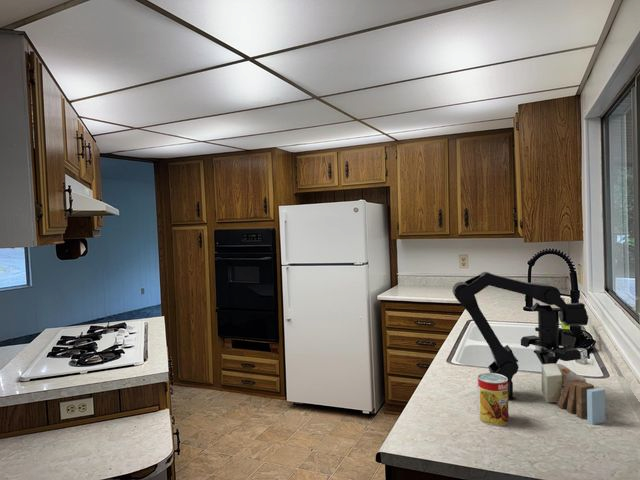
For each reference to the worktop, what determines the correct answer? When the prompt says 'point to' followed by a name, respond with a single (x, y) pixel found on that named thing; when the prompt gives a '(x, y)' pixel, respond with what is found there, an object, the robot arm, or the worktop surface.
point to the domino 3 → (582, 399)
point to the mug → (568, 374)
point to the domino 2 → (573, 397)
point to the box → (551, 382)
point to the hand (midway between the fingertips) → (549, 374)
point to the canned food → (493, 399)
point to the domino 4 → (596, 406)
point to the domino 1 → (565, 394)
